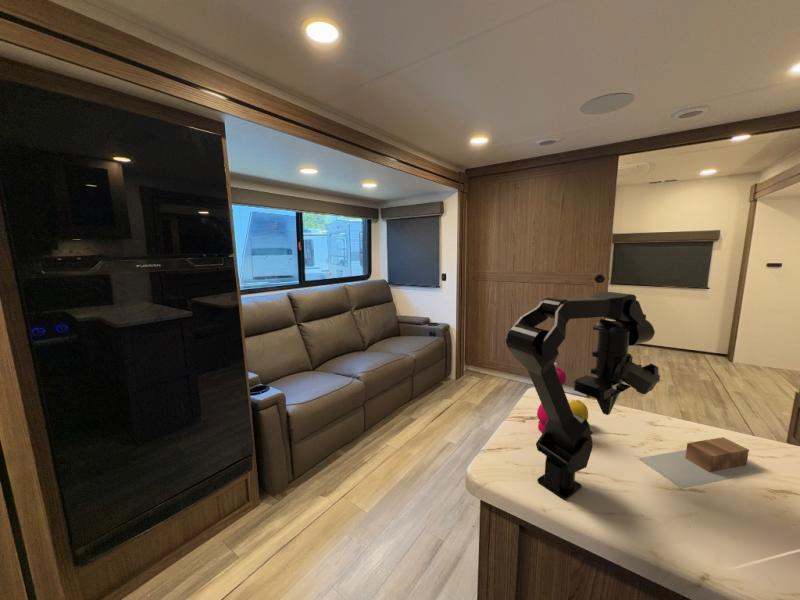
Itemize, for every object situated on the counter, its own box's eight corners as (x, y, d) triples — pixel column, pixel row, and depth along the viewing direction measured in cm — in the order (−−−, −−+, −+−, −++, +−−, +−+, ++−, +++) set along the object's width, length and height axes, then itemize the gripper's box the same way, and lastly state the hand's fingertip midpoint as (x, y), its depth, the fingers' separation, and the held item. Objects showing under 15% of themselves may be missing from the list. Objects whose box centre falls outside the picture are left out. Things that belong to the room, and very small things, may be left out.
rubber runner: (680, 489, 67) (681, 488, 67) (637, 459, 77) (637, 458, 77) (762, 473, 71) (763, 471, 71) (711, 446, 81) (711, 445, 81)
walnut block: (711, 456, 71) (749, 449, 73) (687, 443, 76) (723, 437, 78) (708, 472, 71) (746, 465, 74) (685, 458, 76) (720, 452, 78)
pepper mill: (561, 441, 84) (566, 369, 81) (533, 431, 89) (537, 363, 85) (566, 428, 90) (572, 361, 87) (539, 420, 94) (543, 356, 91)
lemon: (567, 419, 95) (569, 394, 94) (588, 425, 92) (591, 399, 90) (563, 427, 91) (565, 401, 90) (585, 434, 87) (587, 406, 86)
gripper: (634, 369, 58) (626, 446, 61) (674, 350, 68) (666, 417, 71) (574, 353, 68) (570, 420, 70) (617, 338, 78) (611, 397, 80)
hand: (606, 414), depth 73 cm, fingers closed
